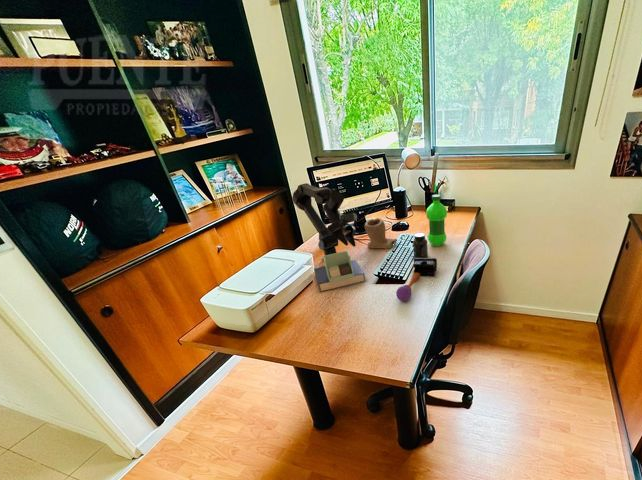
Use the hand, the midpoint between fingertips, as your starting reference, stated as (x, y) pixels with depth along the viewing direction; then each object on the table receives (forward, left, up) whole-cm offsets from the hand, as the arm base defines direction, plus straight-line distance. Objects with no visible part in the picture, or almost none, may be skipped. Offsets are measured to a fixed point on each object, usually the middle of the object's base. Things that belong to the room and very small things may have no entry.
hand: (351, 245), depth 145 cm
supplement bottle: (+18, +27, -13) cm, 35 cm away
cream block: (+3, -14, -6) cm, 16 cm away
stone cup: (-9, +27, -13) cm, 32 cm away
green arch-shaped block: (+4, -12, -9) cm, 16 cm away
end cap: (+29, +16, -13) cm, 36 cm away
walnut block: (+5, -10, -6) cm, 13 cm away
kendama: (+33, 0, -13) cm, 35 cm away
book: (-2, -9, -13) cm, 16 cm away
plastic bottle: (+15, +45, -13) cm, 50 cm away
